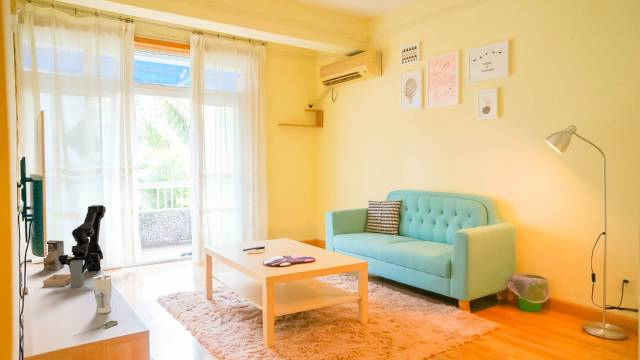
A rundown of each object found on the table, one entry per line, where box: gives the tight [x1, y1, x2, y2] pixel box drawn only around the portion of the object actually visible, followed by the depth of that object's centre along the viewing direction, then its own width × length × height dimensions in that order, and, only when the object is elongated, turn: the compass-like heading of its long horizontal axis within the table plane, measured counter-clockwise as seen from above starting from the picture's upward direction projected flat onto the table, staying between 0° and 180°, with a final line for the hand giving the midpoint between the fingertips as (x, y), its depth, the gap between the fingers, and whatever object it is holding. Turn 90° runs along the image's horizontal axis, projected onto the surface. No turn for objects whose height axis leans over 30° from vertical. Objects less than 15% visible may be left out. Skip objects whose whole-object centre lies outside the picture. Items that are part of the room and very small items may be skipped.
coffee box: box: [42, 239, 65, 271], centre depth 256 cm, size 9×6×16 cm
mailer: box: [42, 273, 71, 287], centre depth 231 cm, size 11×17×3 cm, turn 4°
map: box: [73, 320, 118, 336], centre depth 167 cm, size 5×20×1 cm, turn 150°
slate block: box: [69, 260, 85, 288], centre depth 222 cm, size 5×4×13 cm
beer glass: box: [93, 275, 113, 315], centre depth 187 cm, size 7×7×15 cm
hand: (76, 273), depth 222 cm, fingers closed on slate block, 5 cm apart
